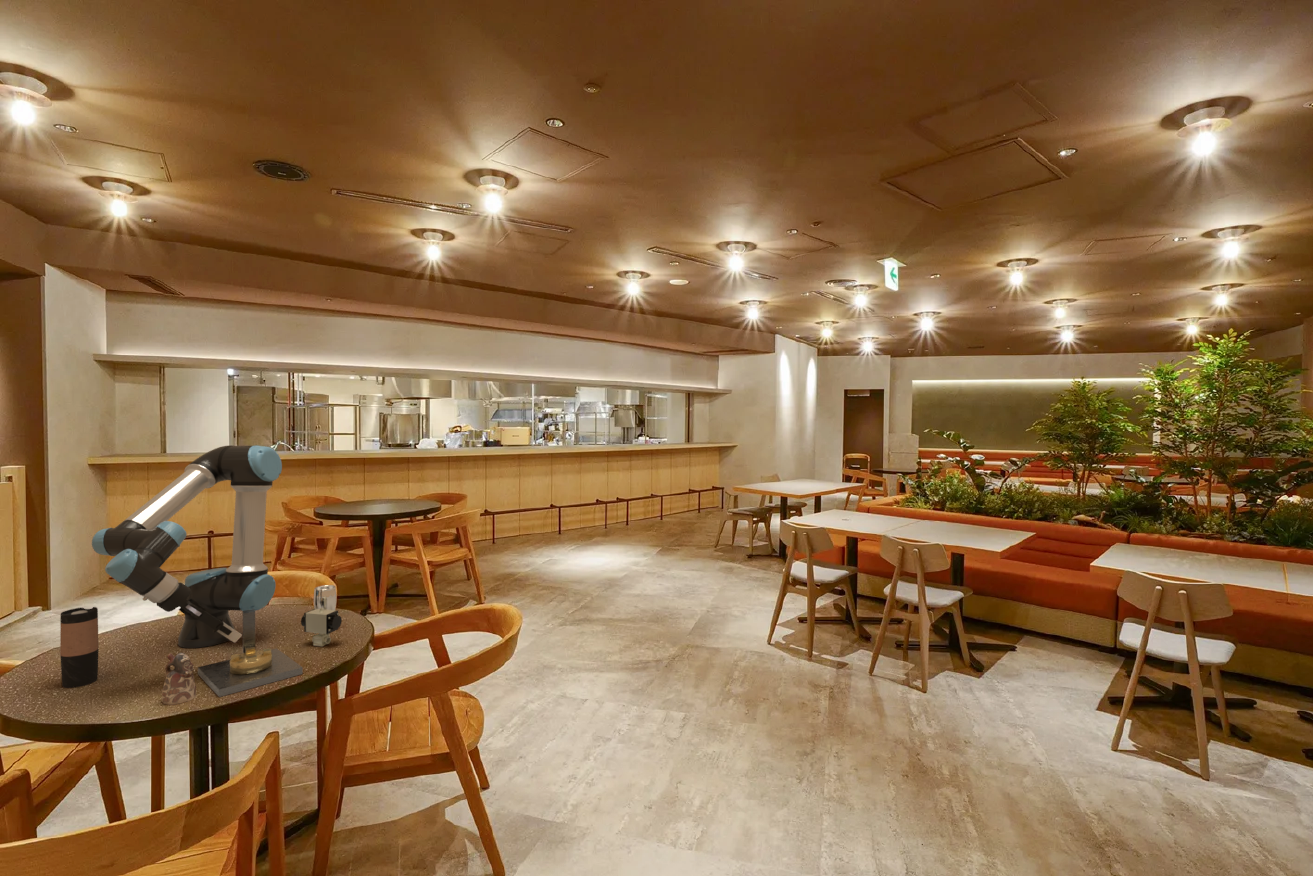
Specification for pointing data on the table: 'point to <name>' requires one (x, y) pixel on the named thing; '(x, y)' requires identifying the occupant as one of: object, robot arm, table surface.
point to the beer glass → (325, 597)
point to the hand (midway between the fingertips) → (238, 638)
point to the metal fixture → (250, 650)
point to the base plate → (230, 683)
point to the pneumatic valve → (321, 624)
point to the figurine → (179, 680)
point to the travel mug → (79, 647)
